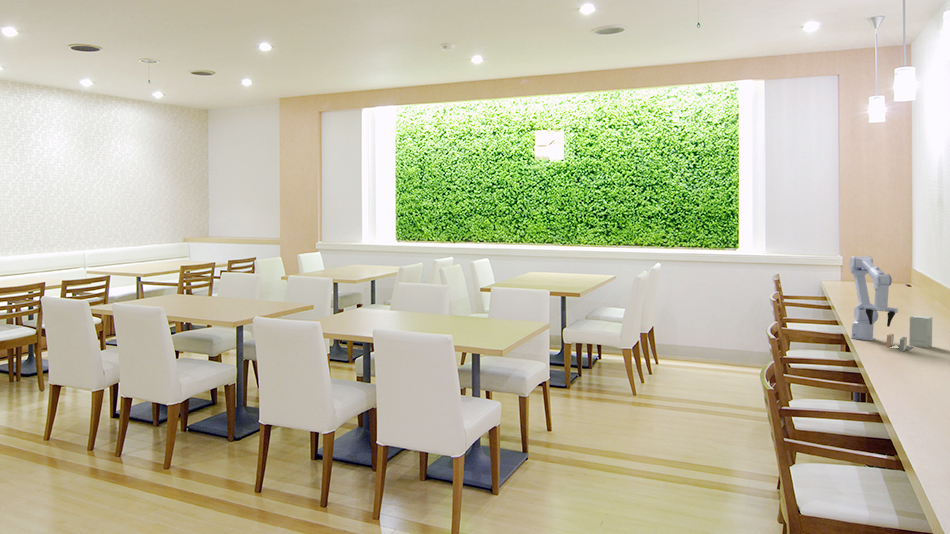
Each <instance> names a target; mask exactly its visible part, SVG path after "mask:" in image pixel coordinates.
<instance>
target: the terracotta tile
mask: <svg viewBox="0 0 950 534" xmlns="http://www.w3.org/2000/svg"><path fill="white" fill-rule="evenodd" d="M894 335H895V334H894V333H889V334H887V335H886V346H887V347H886V346H885V347H886V348H890V347H892V346H893V345H894V342H895V341H894V339H895V336H894Z"/></svg>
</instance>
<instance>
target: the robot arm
mask: <svg viewBox="0 0 950 534" xmlns="http://www.w3.org/2000/svg"><path fill="white" fill-rule="evenodd" d="M848 266H849V269H850V273H851V274H852V275H853V277H854V283H855V284H854V285H855V290H856V294H857V299H858V304H857V305H856V306H855V307H854V310H853V311H854V313H853V316H854V317H853V318H854V320H853V323H852V325H851V337H850V339H856V340H864V341H869V340H870V341H871V340H872V341H874V340H875V339H876V337H874V324H876V322H877V321H878V320H879V312H886V313H887V324H886V326H887V327H890V326H891V322H892V320H893V318H894V317H895V315H896V314H897V313H898V311H899V308H897V307H896V308H895V307H890V306H889V304H888V303H889V292H890V291H889V288H890V286H891V285H892V283H893V282H892V280H893V279H892V276H891V274H889V273H885V272H884V271H883V270H882V269H881V268H880V267H879V266H876V265H875V264H874V259H873V257H872V256H870V255H869V256H854V255H852V256H851V257H850V259H849V263H848ZM866 275H869V276H870V278H871V279H872V282H873V288H874V304H872V303H871V302H870V296H869V292H868V290H869V289H868V287H867V281H866V277H865V276H866ZM888 306H889V307H888ZM873 339H874V340H873ZM872 341H871V342H872Z"/></svg>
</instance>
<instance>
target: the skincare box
mask: <svg viewBox="0 0 950 534" xmlns="http://www.w3.org/2000/svg"><path fill="white" fill-rule="evenodd" d="M908 342H909V343H908V344H909V346H912V345H913V346H912V347H920V348H927V349H928V348H931V346H933V317H932V316H925V315H924V316H923V315H912V316H909V341H908Z"/></svg>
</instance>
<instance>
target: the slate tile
mask: <svg viewBox="0 0 950 534" xmlns="http://www.w3.org/2000/svg"><path fill="white" fill-rule="evenodd" d="M907 341H908V338H907V337H906V336H902V337H901V338H900V339H899V345H900V349H898V350H899V351H898V352H901V351H902V352H903V351H904V352H905V351H907V350H906V347H907V346H908V345H907V343H908V342H907ZM904 352H903V353H904Z"/></svg>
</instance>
